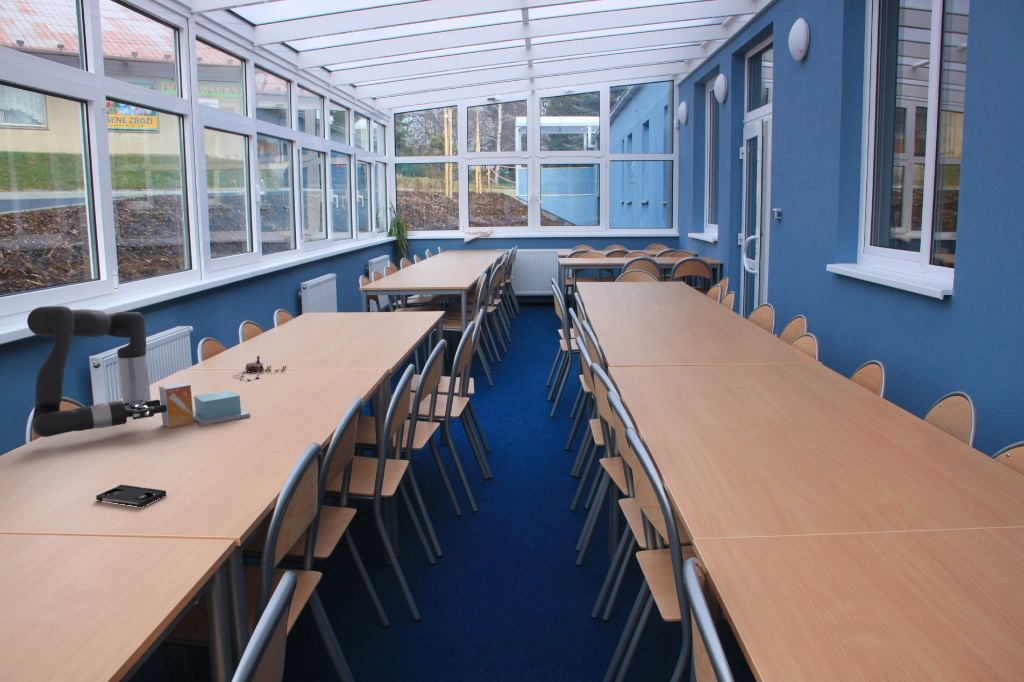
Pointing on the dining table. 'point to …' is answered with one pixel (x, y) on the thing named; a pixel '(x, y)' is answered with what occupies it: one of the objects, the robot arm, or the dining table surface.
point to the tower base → (218, 408)
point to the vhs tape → (131, 495)
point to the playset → (256, 367)
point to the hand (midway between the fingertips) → (163, 405)
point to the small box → (176, 404)
